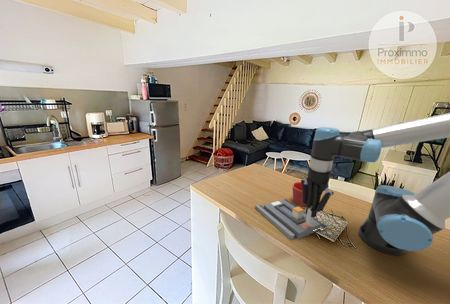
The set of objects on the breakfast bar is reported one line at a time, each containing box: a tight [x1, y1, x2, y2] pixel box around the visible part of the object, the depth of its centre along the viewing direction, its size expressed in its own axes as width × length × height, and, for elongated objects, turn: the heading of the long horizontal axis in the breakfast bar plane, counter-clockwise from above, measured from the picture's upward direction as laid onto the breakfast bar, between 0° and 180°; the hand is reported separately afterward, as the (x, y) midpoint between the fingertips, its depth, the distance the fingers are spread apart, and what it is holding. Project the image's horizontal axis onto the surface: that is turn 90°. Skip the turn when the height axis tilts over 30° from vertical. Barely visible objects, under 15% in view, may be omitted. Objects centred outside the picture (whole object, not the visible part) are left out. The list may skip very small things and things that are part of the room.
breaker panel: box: [263, 198, 321, 240], centre depth 86 cm, size 22×13×4 cm, turn 28°
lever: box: [292, 206, 305, 221], centre depth 82 cm, size 3×3×5 cm
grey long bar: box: [254, 204, 297, 240], centre depth 84 cm, size 24×3×2 cm, turn 28°
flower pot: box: [292, 181, 307, 207], centre depth 99 cm, size 11×11×10 cm
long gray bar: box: [284, 198, 327, 229], centre depth 90 cm, size 24×3×2 cm, turn 27°
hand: (309, 222), depth 76 cm, fingers closed
